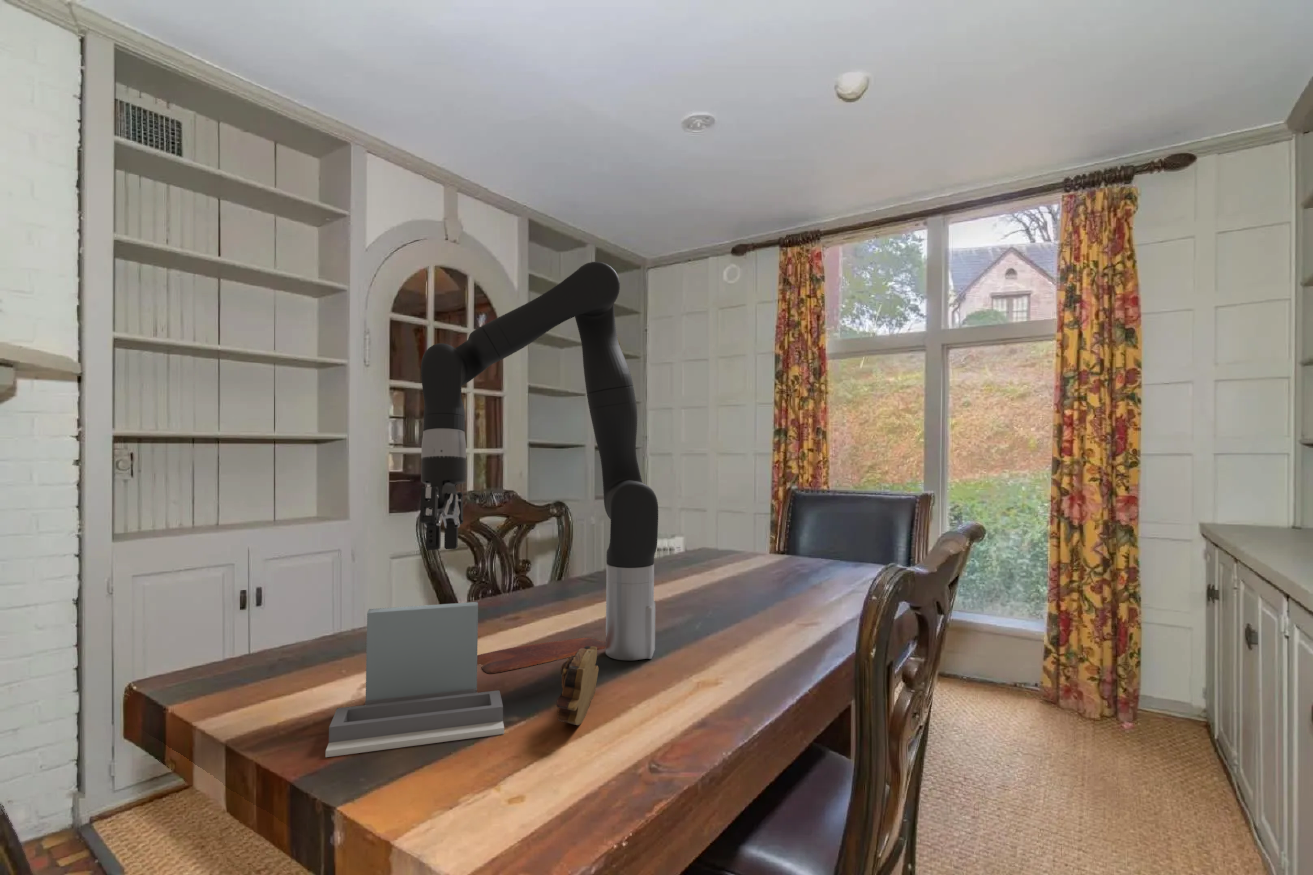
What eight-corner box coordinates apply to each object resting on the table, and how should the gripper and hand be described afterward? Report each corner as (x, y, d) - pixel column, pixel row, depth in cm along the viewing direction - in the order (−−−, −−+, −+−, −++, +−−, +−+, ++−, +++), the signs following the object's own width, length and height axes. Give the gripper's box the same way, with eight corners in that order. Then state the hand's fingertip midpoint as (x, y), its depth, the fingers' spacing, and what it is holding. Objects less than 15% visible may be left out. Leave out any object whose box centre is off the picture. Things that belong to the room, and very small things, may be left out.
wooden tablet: (489, 679, 109) (490, 669, 109) (468, 663, 116) (468, 654, 117) (617, 650, 125) (617, 641, 125) (591, 638, 133) (591, 630, 133)
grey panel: (474, 680, 106) (475, 594, 107) (476, 698, 98) (478, 605, 99) (371, 691, 101) (373, 600, 101) (364, 711, 93) (366, 613, 94)
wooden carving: (571, 696, 100) (571, 632, 100) (599, 696, 99) (600, 633, 100) (550, 744, 83) (551, 668, 83) (584, 745, 83) (585, 669, 83)
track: (497, 703, 96) (498, 684, 97) (504, 733, 86) (504, 713, 86) (339, 721, 89) (339, 701, 90) (325, 757, 79) (325, 734, 79)
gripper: (450, 450, 104) (449, 549, 102) (477, 460, 118) (476, 547, 116) (406, 452, 104) (403, 551, 102) (437, 462, 119) (436, 549, 116)
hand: (442, 549), depth 109 cm, fingers open, 8 cm apart
